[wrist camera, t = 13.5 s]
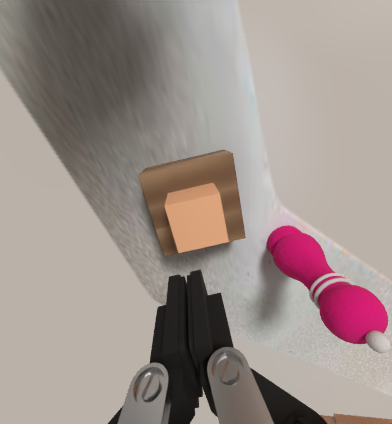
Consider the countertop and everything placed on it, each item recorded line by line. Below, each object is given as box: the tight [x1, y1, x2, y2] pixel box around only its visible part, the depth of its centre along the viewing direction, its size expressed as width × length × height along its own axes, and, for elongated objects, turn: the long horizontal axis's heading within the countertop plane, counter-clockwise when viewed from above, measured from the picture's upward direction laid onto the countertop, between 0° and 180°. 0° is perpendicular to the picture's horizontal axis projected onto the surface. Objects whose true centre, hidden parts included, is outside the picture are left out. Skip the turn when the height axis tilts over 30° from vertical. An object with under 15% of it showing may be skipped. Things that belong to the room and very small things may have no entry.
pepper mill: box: [267, 226, 391, 353], centre depth 28 cm, size 7×7×20 cm
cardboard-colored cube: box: [165, 183, 229, 253], centre depth 25 cm, size 6×6×5 cm
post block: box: [138, 150, 246, 256], centre depth 30 cm, size 12×12×6 cm
